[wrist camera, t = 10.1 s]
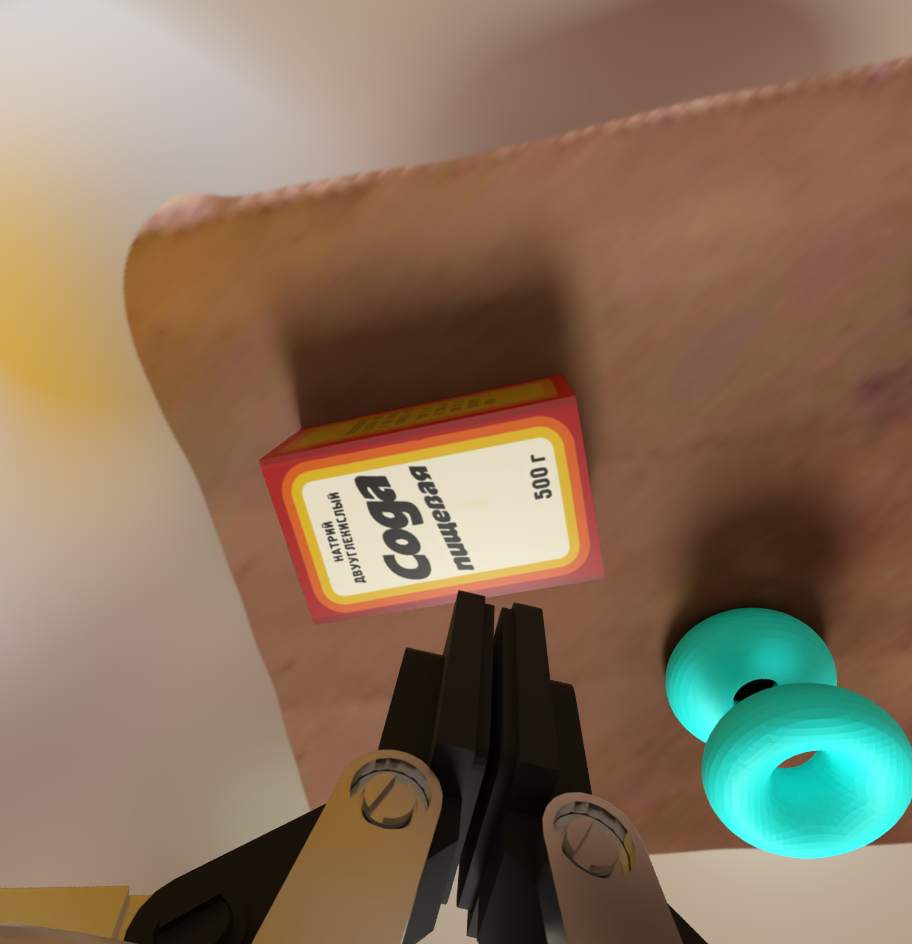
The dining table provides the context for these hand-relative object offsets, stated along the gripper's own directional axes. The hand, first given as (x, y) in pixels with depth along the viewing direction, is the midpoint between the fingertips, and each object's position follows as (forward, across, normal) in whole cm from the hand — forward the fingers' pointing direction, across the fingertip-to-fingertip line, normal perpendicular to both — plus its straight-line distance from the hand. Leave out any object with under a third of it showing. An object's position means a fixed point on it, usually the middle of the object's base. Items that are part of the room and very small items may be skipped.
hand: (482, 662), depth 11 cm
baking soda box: (+20, -5, +1) cm, 21 cm away
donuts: (+24, -19, +13) cm, 33 cm away
